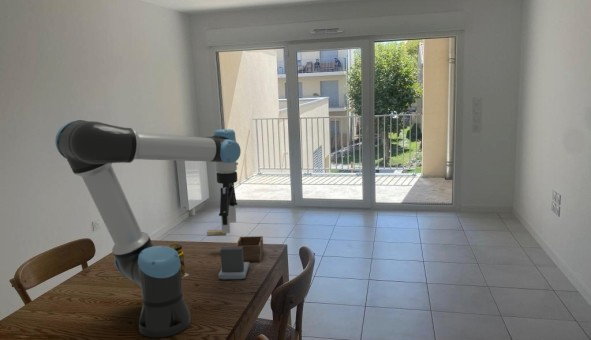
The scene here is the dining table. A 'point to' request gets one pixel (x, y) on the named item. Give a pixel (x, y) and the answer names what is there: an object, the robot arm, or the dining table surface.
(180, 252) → the condiment
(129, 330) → the dining table surface
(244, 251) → the open wooden box
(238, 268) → the grey slotted stand
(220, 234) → the key
